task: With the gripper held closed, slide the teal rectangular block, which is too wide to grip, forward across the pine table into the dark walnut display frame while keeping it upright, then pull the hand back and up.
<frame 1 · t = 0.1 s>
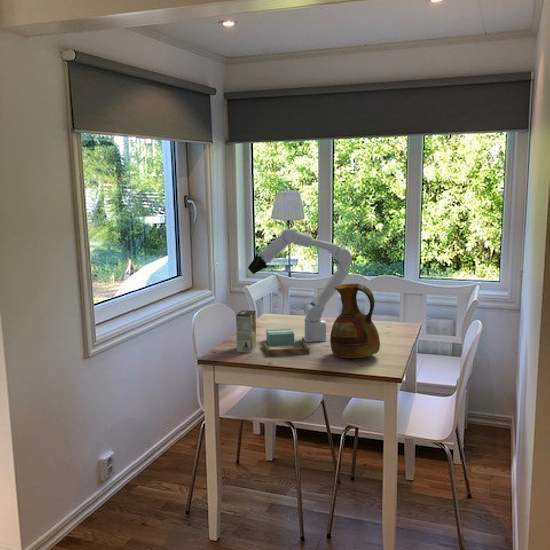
hand: (250, 271, 257), 32 cm above the table, tool tilted 50°, fingers open, 7 cm apart
ceramic pitcher: (354, 356, 241), on the table
display stand: (285, 350, 251), on the table
coffee box: (246, 349, 252), on the table
teal rectangular block: (280, 342, 263), on the table
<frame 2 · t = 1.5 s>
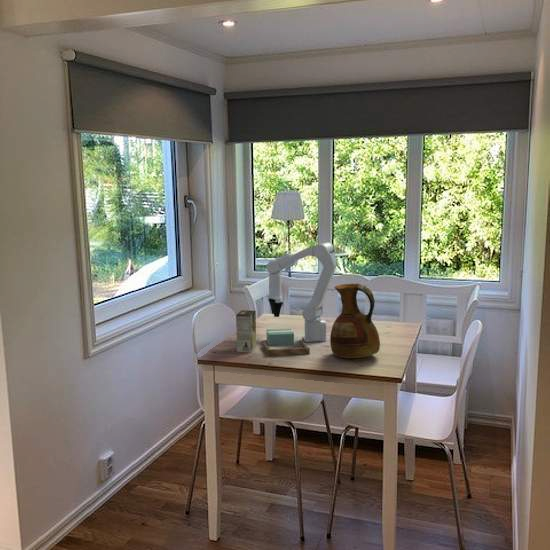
hand: (275, 315, 274), 9 cm above the table, tool pointing down, fingers open, 6 cm apart
nothing on the table moved.
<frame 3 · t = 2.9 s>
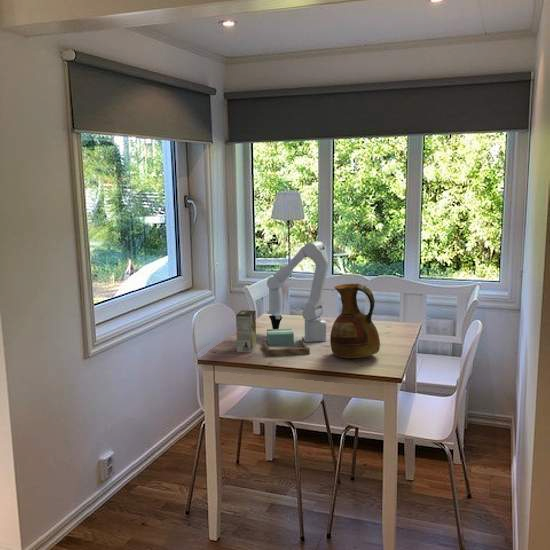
hand: (275, 331, 275), 2 cm above the table, tool pointing down, fingers closed
nothing on the table moved.
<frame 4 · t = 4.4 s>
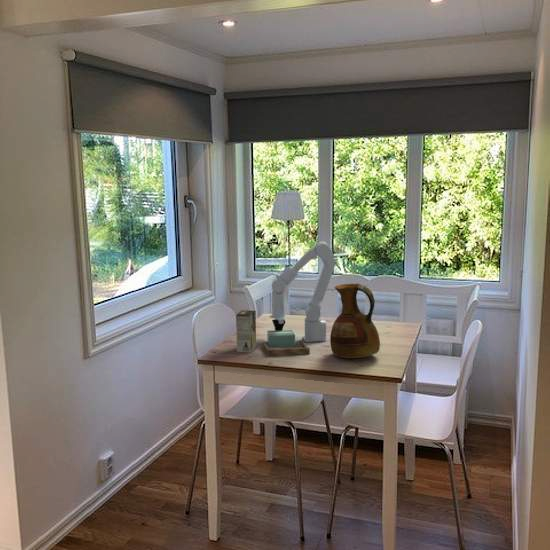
hand: (278, 335, 267), 2 cm above the table, tool pointing down, fingers closed
teal rectangular block: (281, 343, 261), on the table
everything else where it was.
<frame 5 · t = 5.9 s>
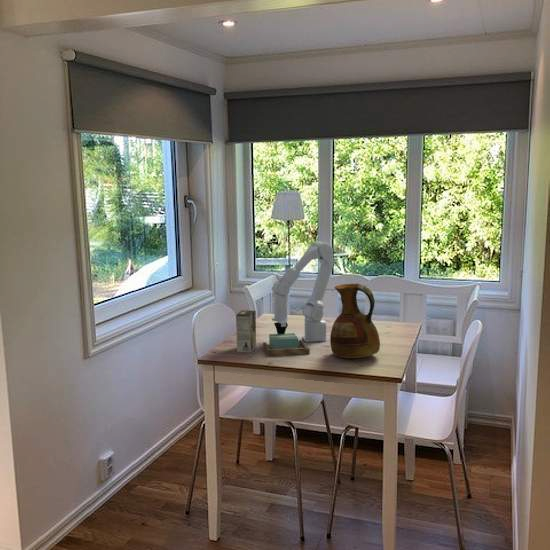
hand: (280, 339, 261), 2 cm above the table, tool pointing down, fingers closed
teal rectangular block: (283, 347, 255), on the table
everything else where it was.
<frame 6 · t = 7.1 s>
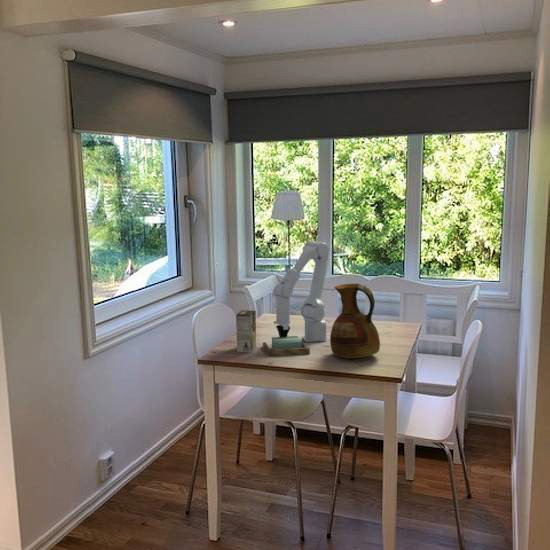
hand: (283, 342, 256), 2 cm above the table, tool pointing down, fingers closed
teal rectangular block: (286, 351, 250), on the table
everything else where it was.
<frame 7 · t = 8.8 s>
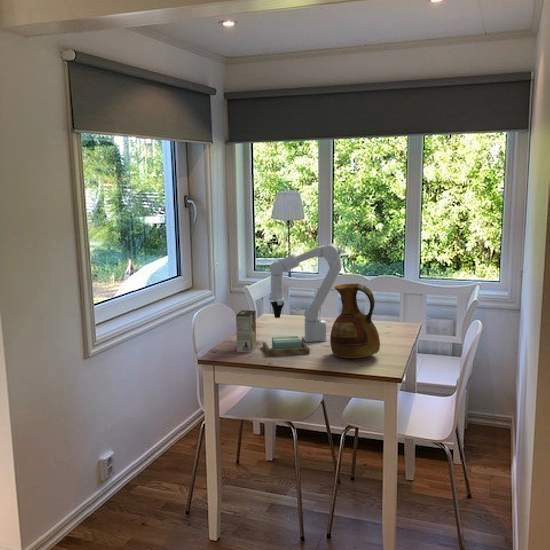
hand: (277, 317, 269), 9 cm above the table, tool pointing down, fingers closed
nothing on the table moved.
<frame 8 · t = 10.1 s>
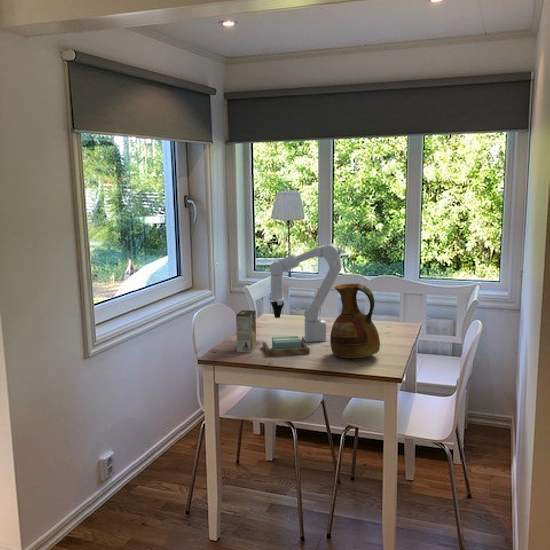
hand: (277, 317, 269), 9 cm above the table, tool pointing down, fingers closed
nothing on the table moved.
at the end: teal rectangular block inside the target area on the display stand (0.6 cm from its centre), point 0.0 cm above the display stand's base; teal rectangular block tilted 0°; the gripper is holding nothing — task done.
